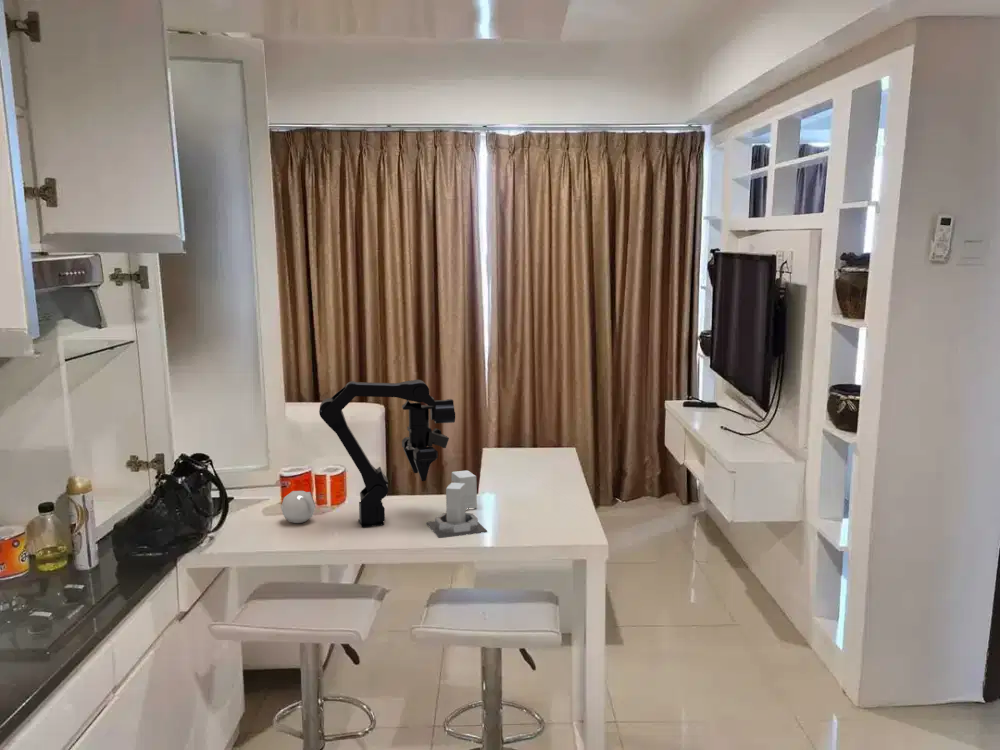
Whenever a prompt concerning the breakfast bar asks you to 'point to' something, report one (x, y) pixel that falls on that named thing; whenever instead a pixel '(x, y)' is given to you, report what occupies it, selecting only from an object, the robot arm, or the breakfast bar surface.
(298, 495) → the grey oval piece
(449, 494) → the skincare box
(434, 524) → the grey octagonal ring base
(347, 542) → the breakfast bar surface
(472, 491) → the small box
